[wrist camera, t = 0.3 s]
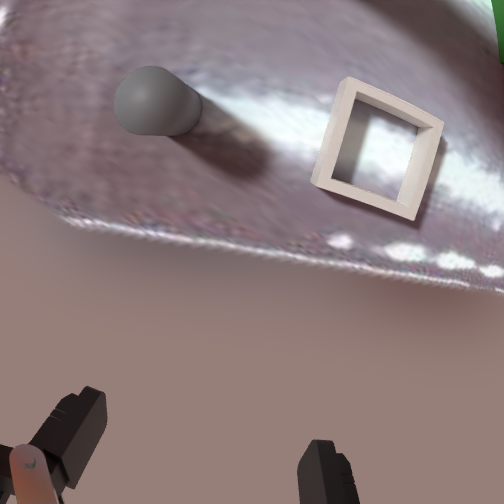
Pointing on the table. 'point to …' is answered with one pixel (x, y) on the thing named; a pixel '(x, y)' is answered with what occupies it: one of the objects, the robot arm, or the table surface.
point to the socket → (418, 161)
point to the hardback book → (499, 25)
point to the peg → (156, 103)
